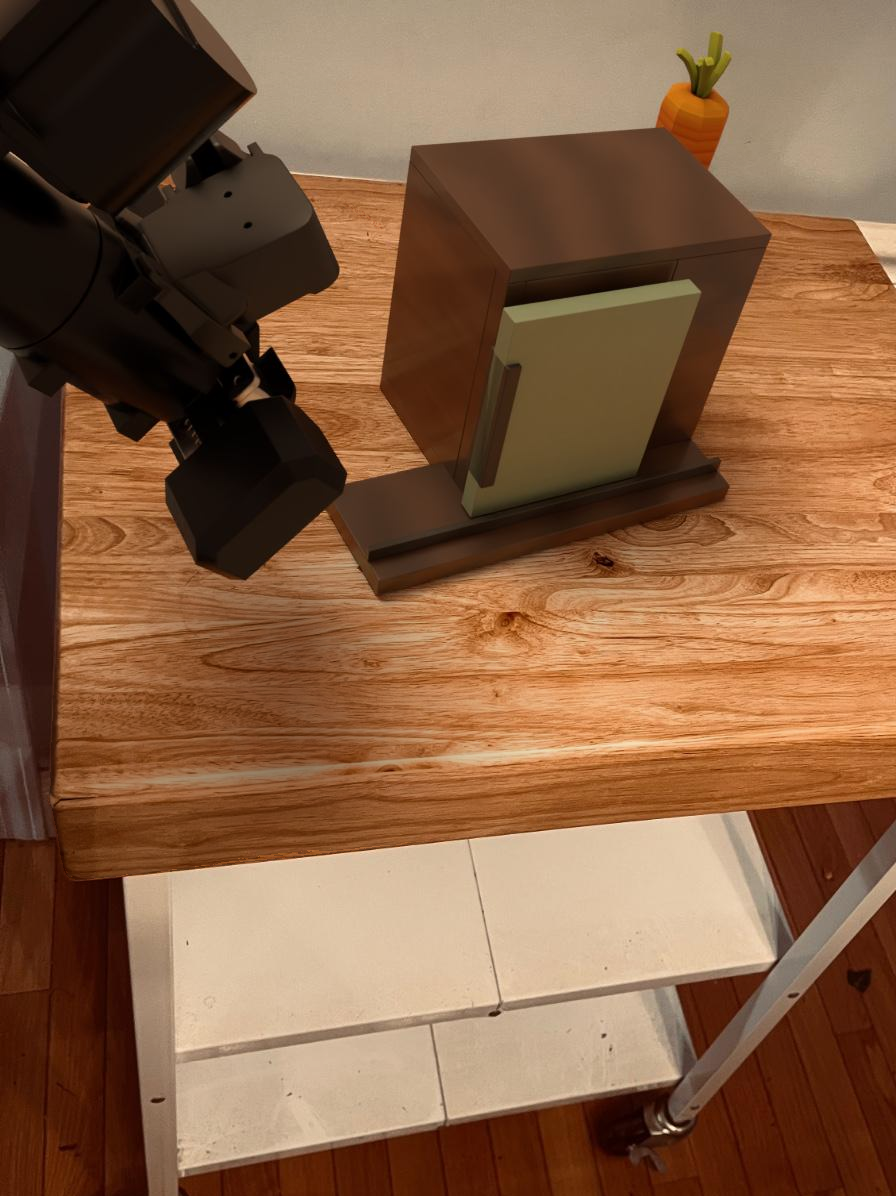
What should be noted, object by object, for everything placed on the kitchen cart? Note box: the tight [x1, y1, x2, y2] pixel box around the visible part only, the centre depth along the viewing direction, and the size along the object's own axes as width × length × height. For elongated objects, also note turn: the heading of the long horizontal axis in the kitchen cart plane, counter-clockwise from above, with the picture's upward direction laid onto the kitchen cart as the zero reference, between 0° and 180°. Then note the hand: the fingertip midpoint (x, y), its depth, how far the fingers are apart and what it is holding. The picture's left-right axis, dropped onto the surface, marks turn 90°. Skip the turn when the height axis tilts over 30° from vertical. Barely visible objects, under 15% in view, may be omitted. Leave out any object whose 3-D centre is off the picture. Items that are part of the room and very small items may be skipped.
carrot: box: [654, 30, 733, 171], centre depth 85 cm, size 5×5×15 cm
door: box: [462, 279, 701, 518], centre depth 63 cm, size 11×2×13 cm, turn 123°
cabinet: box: [325, 127, 773, 597], centre depth 64 cm, size 23×15×16 cm, turn 123°
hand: (317, 448), depth 55 cm, fingers closed
